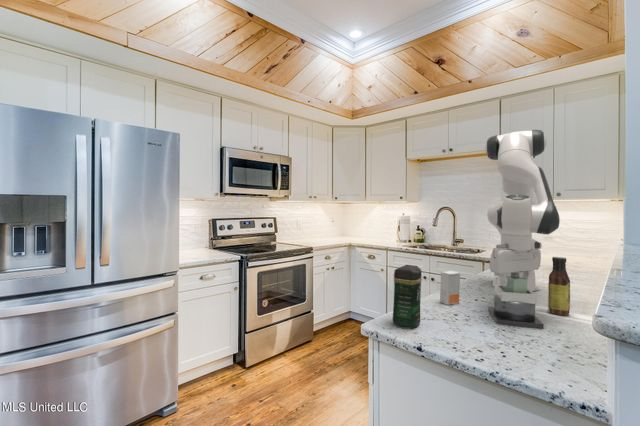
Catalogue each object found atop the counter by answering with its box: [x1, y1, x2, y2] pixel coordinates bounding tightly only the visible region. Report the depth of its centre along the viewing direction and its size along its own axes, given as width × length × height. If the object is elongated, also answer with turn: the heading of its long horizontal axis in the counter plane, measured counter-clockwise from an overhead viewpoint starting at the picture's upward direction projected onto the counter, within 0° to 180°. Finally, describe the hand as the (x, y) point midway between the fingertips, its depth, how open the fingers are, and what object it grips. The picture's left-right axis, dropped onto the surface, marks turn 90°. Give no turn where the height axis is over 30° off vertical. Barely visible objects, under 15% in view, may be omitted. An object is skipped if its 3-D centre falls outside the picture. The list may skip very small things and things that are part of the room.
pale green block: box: [503, 272, 527, 293], centre depth 109 cm, size 6×4×8 cm
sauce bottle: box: [547, 256, 571, 316], centre depth 115 cm, size 6×6×20 cm
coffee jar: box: [392, 264, 422, 329], centre depth 103 cm, size 10×8×19 cm
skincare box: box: [439, 270, 461, 306], centre depth 126 cm, size 6×4×12 cm
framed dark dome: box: [487, 285, 545, 330], centre depth 109 cm, size 14×13×10 cm
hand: (514, 284), depth 109 cm, fingers open, 8 cm apart
